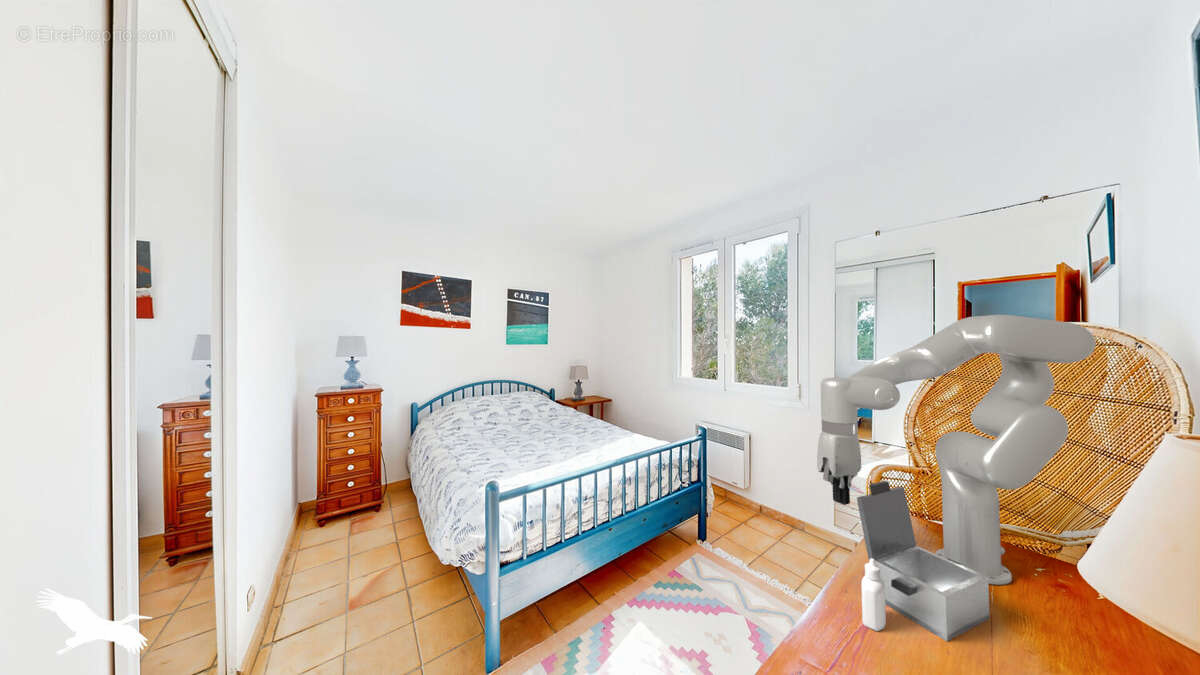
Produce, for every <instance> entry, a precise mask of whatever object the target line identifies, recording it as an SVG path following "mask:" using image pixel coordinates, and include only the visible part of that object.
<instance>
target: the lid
mask: <svg viewBox="0 0 1200 675" xmlns="http://www.w3.org/2000/svg"><path fill="white" fill-rule="evenodd" d="M869 491H870V494H865V495H861V496H858V497H856V501H857V507H858V512H859V516H860V521H861V522H860V523H861V527H862V533H863V538H864V542H865V543H864V544H865V548H866V553H867V554H866V555H867V558H868V561H870V558H872V559H874V560H877V559H880V558H883V557H885V556H888V555H891V554H894V553H897V552H899V551H902V550H905V549H908V548H911V547H913V546H917V542H916V537H915V536H916V535H915V533H914V527H913V523H912V518H911V514H910V510H909V506H908V500H907V496H906V490H905V488H904V487H902V486H896V487H893V488H891V487H890V481H885V480H883V481H879V482H875V483H870V484H869Z"/></svg>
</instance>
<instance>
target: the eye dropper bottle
mask: <svg viewBox="0 0 1200 675" xmlns="http://www.w3.org/2000/svg"><path fill="white" fill-rule="evenodd" d="M868 561H869V560H868ZM860 584H861V616H862V617H861V618H862V624H863V626H865V627H867V628H869V629H871V630H873V631H876V632H879V631H881V630H883V629H884V628H885V627H886V623H887V620H886V619H887V616H886V615H887V614H886V613H887V612H886V604H885V585H884V582H883V580H882V579H881V575H880V568H879V567H878V566H877V565H876V564H875V560H874V559H872V558H870V561H869V562H866V563H865V564H864V576H863V577H862V579H861V583H860Z"/></svg>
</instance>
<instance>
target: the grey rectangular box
mask: <svg viewBox="0 0 1200 675" xmlns="http://www.w3.org/2000/svg"><path fill="white" fill-rule="evenodd" d="M875 564H876V565H877V566H878V567H879V568H880V575H881V579H882V580H883V582H884V585H885V606H887V607H889V608H891V609H892V610H894V611H896V612H897V613H899V614H901V615H902V616H904V617H905V618H908V619H909V620H910V621H913V622H914V623H915V624H918V625H919V626H920V627H922V628H924V629H925V630H927V631H929V632H930V633H932V634H934V635H935V636H937V637H939V638H940V639H942V640H943V641H945V642H949V641H951V640H953V639H955V638H956V636H957V637H959V636H960V635H962V634H964V633H965V632H968V631H970V630H971V629H973V628H976V627H977V626H978V625H980V624H981V625H982V624H983V623H984V622H986V621H988V620H990V617H991V616H990V592H989V584H988V577H987V576H985V575H982V574H980V573H978V572H975V571H973V570H971V569H969V568H966V567H965V565H963V564H960V563H958V562H956V561H953V560H951V559H949V558H943V557H941V556H939V555H937V554H936V553H934V552H932V551H929V550H927V549H925V548H922V547H920V546H918V545H916V546H913V547H911V548H908V549H905V550H902V551H899V552H897V553H894V554H891V555H888V556H885V557H883V558H880V559H877V560H875ZM954 637H955V638H954ZM952 638H953V639H952Z"/></svg>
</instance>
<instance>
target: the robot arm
mask: <svg viewBox="0 0 1200 675" xmlns="http://www.w3.org/2000/svg"><path fill="white" fill-rule="evenodd" d="M1096 343H1097V342H1096V338H1095V336H1094V335H1093V333H1092V332H1091V331H1090V330H1088V329H1087V328H1086V327H1084V326H1082V325H1079V324H1077V323H1073V322H1067V321H1059V320H1058V321H1057V320H1051V319H1045V318H1043V319H1042V318H1035V317H1028V316H1019V315H1012V314H987V315H979V316H978V315H977V316H969V317H965V318H961V319H959V320H957V321H955V322H953V323H951V324H950V325H949V326H946V327H945V328H943V329H942V330H941V329H940V330H939V331H937V332H935V333H933V335H931V336H929V337H927V338H926V339H923V340H922V341H920V342H919V343H917V344H915V345H914V346H911V347H909V348H907V349H904V350H901V351H898V352H896V353H893V354H892V355H888V356H886V357H884V358H881V359H879V360H876V361H875V362H872V363H870V364H868V365H866V366H864V367H863V368H862V369H858V370H857V371H855V372H854V373H852V374H851V375H850V376H848V377H847V378H843V377H826V378H823V379H822V380H821V382H820V415H821V419H820V420H821V421H820V422H821V433H820V434H819V437H818V444H817V454H816V455H817V461H816V467H817V468H816V469H817V472H819V473H823V475H822V480H824V481H826V482H828V483H830V485H831V486H832V500H833V501H834V502H836V503H838V504H840V505H843V506H846V505H849V504H850V503H851V498H850V495H851V494H850V492H851V491H850V488H851V486H852V482H853V479H854V478H855V477H857V476H858V473H860V472H861V470H862V454H861V452H862V451H861V445H860V440H859V439H860V438H859V433H858V432H859V429H858V426H859V424H858V409H867V410H874V411H875V410H876V411H886V410H887V411H888V410H889V409H892V408H894V407H895V406H897V404H898V403H899V402H900V399H901V393H900V390H899V388H898V387H897V385H900V384H902V383H903V384H904V383H907V382H914V381H922V380H929V379H934V378H938V377H942V376H943V375H946V374H948V373H949V372H951V371H953V370H954V369H955V368H958V367H960V366H961V365H963V364H965V363H967V362H968V361H971V360H972V359H974V358H976V357H978V356H979V355H982V354H986V353H987V354H998V356H999V360H1000V362H1001V367H1002V368H1001V374H1000V375H999V378H998V379H997V381H996V382H995V383H994V384H993V386H992V387H991V388H989V391H987V392H986V394H985V395H984V396H983V397H982V398H981V400H980V401H979V402H978V403H977V404H976V406H974V408H973V410H972V411H971V414H970V423H971V425H973V427H974V428H976V430H978V431H980V432H981V433H983V434H986V435H988V436H991V437H994V438H995V439H990V438H989V437H986V436H982V435H979V434H974V433H971V432H966V431H958V430H957V431H949V432H946V433H944V434H943V435H941V436H940V437H939V438H938V440H937V441H936V444H935V456H936V461H937V465H938V469H939V473H940V480H941V500H942V501H941V503H942V504H941V506H942V532H943V534H942V536H943V539H942V540H943V548H939V549H937V550H936V551H935V554H937V555H939V556H941V557H943V558H949V559H951V560H953V561H956V562H958V563H960V564H963V565H965V567H966V568H969V569H971V570H973V571H975V572H978V573H980V574H982V575H985V576H987V577H988V585H1000V586H1001V585H1008V584H1009V583H1011V582H1012V580H1013V578H1012V573H1011V571H1010V570H1009V569H1008V568H1007V567H1006V566H1004V565H1003V564H1002V555H1004V554H1005V553H1006V550H1005V548H1004V547H1003V546H1002V545H1001V525H1000V524H1001V523H1000V521H1001V520H1000V498H999V493H998V490H997V488H998V489H1001V490H1016V489H1017V490H1018V489H1020V488H1021V487H1024V486H1026V485H1027V484H1029V483H1030V482H1031V481H1032V480H1033V479H1034V478H1035V477H1036V476H1037V475H1038V474H1039V473H1040V472H1041V471H1042V470H1043V468H1044V467H1045V466H1046V465H1047V464H1048V463H1049V462H1050V460H1051V459H1053V457H1054V456H1055V455H1057V453H1058V452H1059V450H1060V449H1061V448H1062V447H1063V445H1064V444H1065V442H1066V440H1067V438H1068V435H1069V424H1068V420H1067V419H1066V417H1065V415H1063V413H1062V412H1060V411H1059V410H1058V409H1057V408H1054V407H1052V406H1049V405H1046V402H1048V400H1049V398H1050V397H1051V395H1052V394H1053V392H1054V389H1055V379H1054V377H1053V373H1052V372H1051V369H1050V366H1049V364H1048V363H1054V364H1070V363H1071V364H1073V363H1076V362H1077V363H1078V362H1081V361H1083V360H1085V359H1087V358H1088V357H1089V356H1091V354H1092V355H1093V352H1094V350H1095V348H1096Z"/></svg>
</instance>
